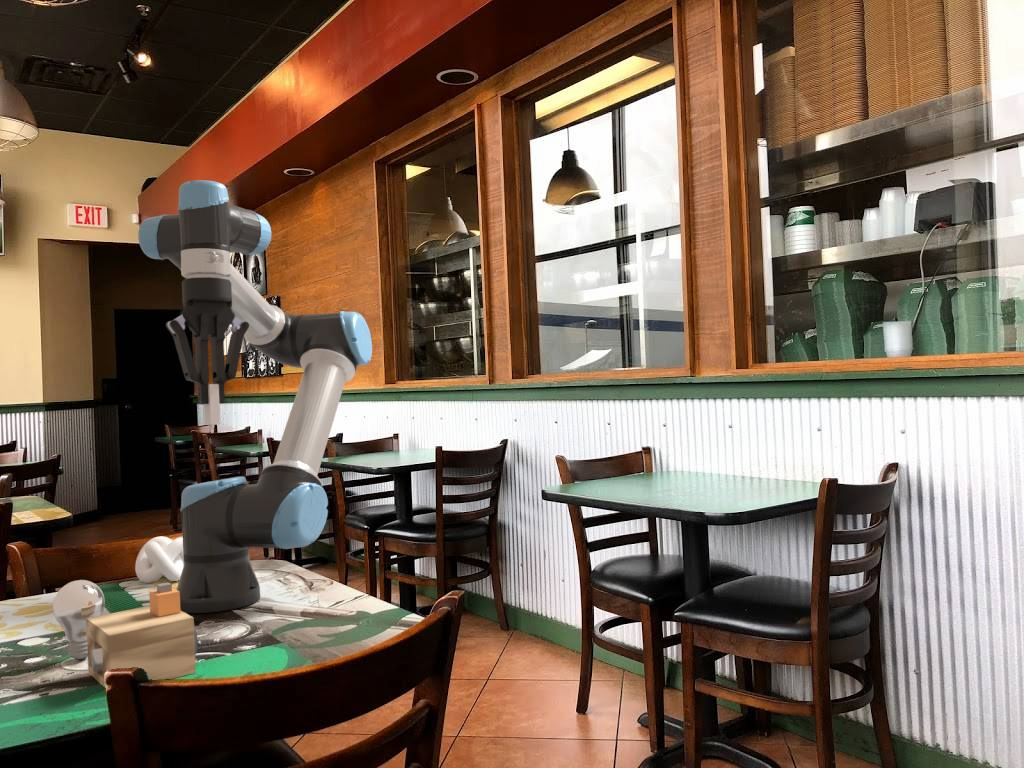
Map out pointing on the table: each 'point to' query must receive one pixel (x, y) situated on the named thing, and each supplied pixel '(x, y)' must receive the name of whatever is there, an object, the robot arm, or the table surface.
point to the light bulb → (77, 613)
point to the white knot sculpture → (160, 559)
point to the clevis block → (143, 643)
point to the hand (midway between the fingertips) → (212, 424)
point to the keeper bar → (164, 600)
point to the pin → (98, 656)
